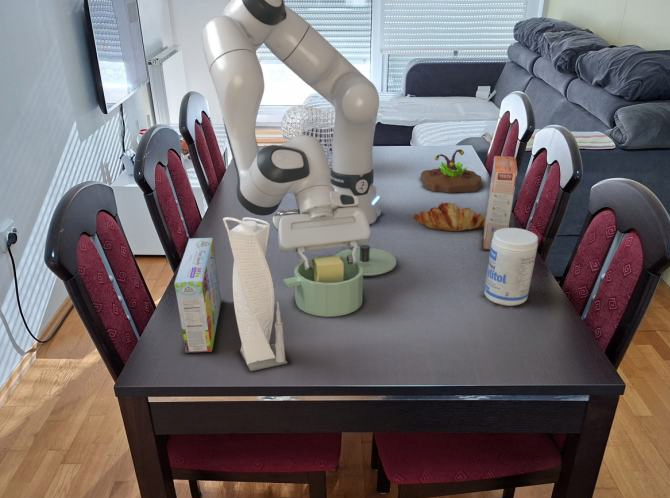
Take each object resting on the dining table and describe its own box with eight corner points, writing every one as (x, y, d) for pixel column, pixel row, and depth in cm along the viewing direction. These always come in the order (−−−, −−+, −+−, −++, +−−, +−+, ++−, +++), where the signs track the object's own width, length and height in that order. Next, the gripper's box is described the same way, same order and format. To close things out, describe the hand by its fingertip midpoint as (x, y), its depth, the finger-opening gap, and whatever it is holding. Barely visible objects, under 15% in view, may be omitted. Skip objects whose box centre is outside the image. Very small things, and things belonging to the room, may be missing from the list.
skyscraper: (242, 372, 118) (230, 226, 103) (231, 351, 124) (217, 210, 109) (287, 363, 121) (280, 219, 106) (273, 342, 127) (265, 204, 112)
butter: (314, 296, 143) (313, 258, 138) (338, 293, 144) (338, 255, 140) (318, 304, 140) (318, 266, 135) (343, 301, 141) (343, 263, 136)
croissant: (486, 235, 185) (488, 207, 184) (492, 231, 175) (494, 201, 174) (411, 231, 186) (413, 203, 185) (413, 227, 176) (415, 197, 175)
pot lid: (321, 258, 162) (321, 241, 159) (376, 247, 168) (376, 230, 166) (351, 282, 150) (351, 264, 148) (408, 270, 156) (409, 252, 154)
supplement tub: (475, 296, 145) (483, 234, 137) (500, 284, 150) (509, 223, 143) (511, 311, 139) (522, 247, 131) (536, 298, 144) (547, 236, 137)
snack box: (196, 302, 141) (187, 237, 133) (222, 301, 141) (215, 236, 134) (183, 354, 123) (172, 282, 115) (213, 352, 123) (204, 281, 116)
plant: (486, 193, 206) (490, 158, 200) (424, 193, 206) (427, 157, 201) (476, 175, 223) (479, 142, 218) (419, 174, 224) (421, 141, 218)
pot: (274, 296, 144) (272, 265, 140) (353, 279, 152) (354, 249, 148) (300, 325, 133) (299, 292, 129) (385, 305, 141) (386, 273, 137)
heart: (280, 179, 217) (277, 110, 206) (285, 166, 231) (282, 100, 219) (364, 180, 217) (365, 111, 206) (363, 167, 231) (365, 101, 219)
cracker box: (506, 252, 166) (518, 171, 155) (482, 250, 167) (492, 169, 156) (505, 232, 178) (517, 156, 167) (483, 230, 179) (493, 154, 168)
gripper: (272, 205, 136) (285, 266, 133) (365, 196, 141) (379, 255, 138) (269, 218, 142) (281, 277, 139) (358, 209, 147) (371, 265, 144)
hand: (330, 266), depth 139 cm, fingers open, 8 cm apart
